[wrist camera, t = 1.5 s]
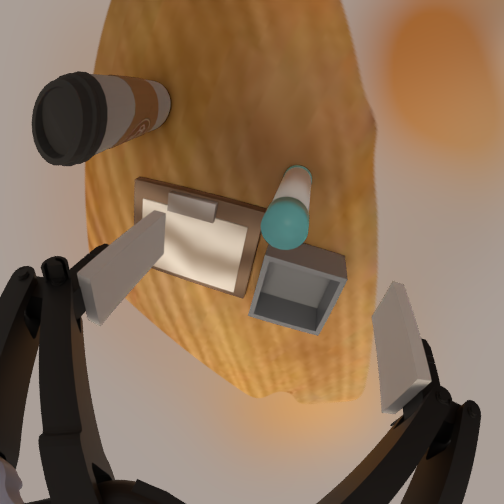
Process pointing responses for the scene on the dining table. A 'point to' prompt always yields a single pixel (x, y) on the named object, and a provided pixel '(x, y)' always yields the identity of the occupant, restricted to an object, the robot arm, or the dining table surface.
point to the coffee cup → (94, 114)
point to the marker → (289, 210)
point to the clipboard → (202, 234)
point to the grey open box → (298, 287)
